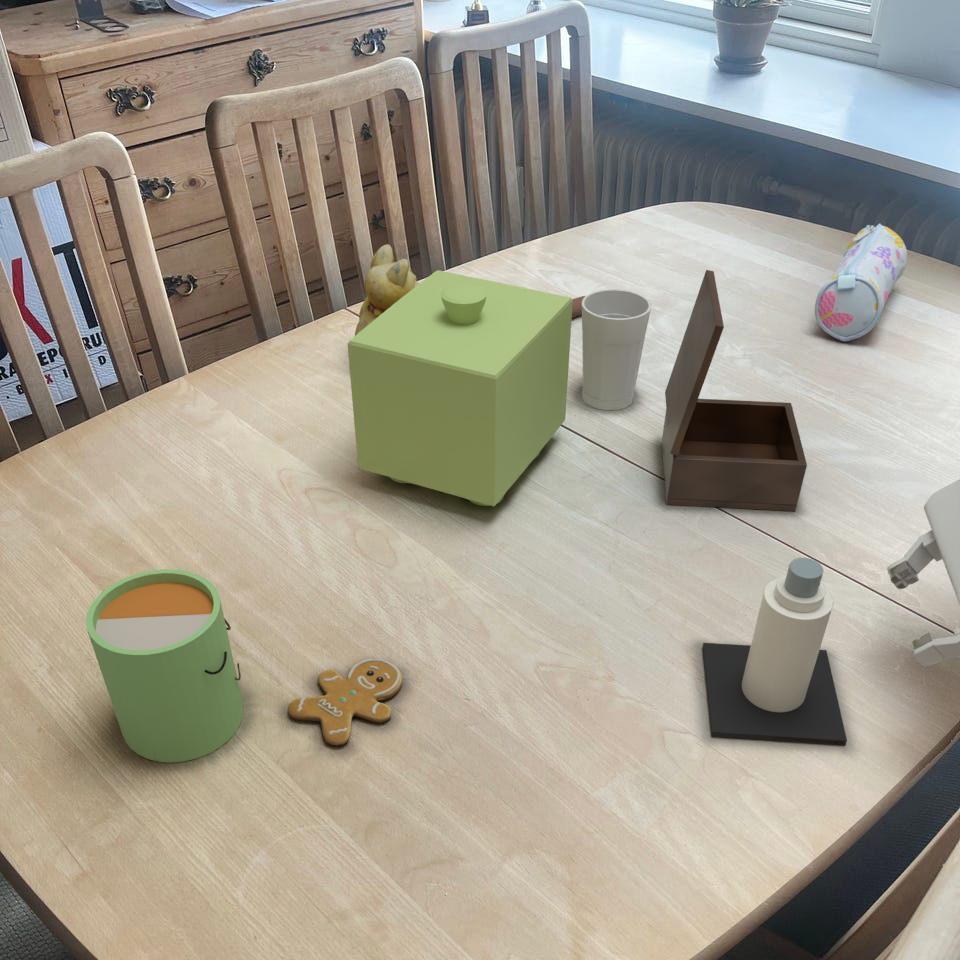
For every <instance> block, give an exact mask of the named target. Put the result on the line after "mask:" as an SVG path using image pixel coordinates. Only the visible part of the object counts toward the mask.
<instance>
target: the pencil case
mask: <svg viewBox="0 0 960 960" xmlns="http://www.w3.org/2000/svg"><path fill="white" fill-rule="evenodd" d="M907 260H908V252H907V246H906V244H905V242H904V240H903V239H902V238H901V237H900V235H899V234H898V233H896V231H894V230H893V229H891V228H890V227H888V226H886V225H883V224H881V223H878V224H877V225H876V226H875V225H870V224H867V225H866V226H865V227H864V228H861V230H859V231H858V232H857V234H856V235H854V237H853V238H851V240H850V242H849V243H848V245H847V246H846V249H845V252H844V253H843V258H842V259H841V260H840V262H839V263H838V265H837V267H836V269H835V271H834V272H833V273H832V274H831V275H830V277H828V279H827V281H826V282H825V283H824V284H823V285H822V286H821V288H820V289H819V291H818V294H817V295H816V298H815V303H814V317H815V319H816V321H817V323H818V326H819V327H820V328H821V329H822V331H824V332H825V333H826V334H828V335H829V336H830V337H833V338H835V339H837V340H838V341H841V342H850V341H853V340H856V339H859V338H861V337H863V336H865V335H867V334H868V333H870V332H871V331H873V329H874V328H875V327H876V326H877V324H878V323H879V321H880V319H881V317H882V314H883V311H884V309H885V307H886V304H887V301H888V299H889V295H890V294H891V293H892V291H893V289H894V287H895V285H896V284H897V282H898V281H899V279H900V278H901V277H902V276H903V274H904V272H905V270H906V267H907V263H908V261H907Z"/></svg>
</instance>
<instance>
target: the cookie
mask: <svg viewBox="0 0 960 960" xmlns="http://www.w3.org/2000/svg"><path fill="white" fill-rule="evenodd" d="M317 682H318V685H319V686H320V688H321V690H322V691H323V693H324V695H317V696H309V697H301V698H296V699H294V700H292V701H291V702H290V703H289V704H288V706H287V713H288V714H289V716H290V717H291V718H293V719H294V720H297V721H298V720H299V721H314V722H319V723H320V726H321V733H322V736H323V739H324V741H325V742H326V743H327V744H329V745H332V746H342V745H345V744H346V743H347V742H348V741H349V739H350V737H351V734H352V732H351V731H352V720H353V717H358V718H361V719H364V720H368V721H371V722H374V723H384V722H386V721H388V720H390V717H391V716H392V708H391V707H390V706H389V705H388V704H386V703H383V702H380V701H385V700H388V699H391V698H392V697H393V696H395V695H396V694H397V693H398V692H399V690H400V689H401V688H402V685H403V674H402V672H401V670H400V669H399V668H398V667H397V665H395V664H393V663H391V662H390V661H388V660H385V659H382V658H368V659H364V660H361V661H359V662H357V663H355V664H354V665H353V666H352V667H351V668H350V669H349V671H348V673H347V676H346V678H343V677H342V675H341V674H340V673H339V672H338V671H336V670H333V669H326V670H323V671H321V672H320V674H319V675H318V677H317Z"/></svg>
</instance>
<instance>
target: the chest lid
mask: <svg viewBox="0 0 960 960" xmlns="http://www.w3.org/2000/svg"><path fill="white" fill-rule="evenodd" d="M724 328H725V325H724V320H723V315H722V309H721V303H720V299H719V293H718V287H717V282H716V277H715V271H714V270H710V269H706V270H705V272H704V275H703V279H702V281H701V285H700V287H699V289H698V293H697V296H696V299H695V301H694V305H693V307H692V312H691V314H690V317H689V320H688V323H687V327H686V329H685V332H684V335H683V337H682V341H681V344H680V346H679V350H678V353H677V355H676V358H675V361H674V364H673V368H672V371H671V374H670V376H669V379H668V383H667V385H666V388H665V392H664V396H665V411H666V410H667V422H668V434H669V445H670V454H674V455H678V452H679V450H680V447H681V444H682V441H683V439H684V436H685V433H686V430H687V428H688V425H689V422H690V419H691V417H692V414H693V411H694V408H695V406H696V403H697V400H698V399H699V397H700V394H701V391H702V388H703V387H704V384H705V381H706V378H707V375H708V372H709V371H710V370H709V369H710V367H711V364H712V362H713V358H714V355H715V353H716V350H717V348H718V345H719V342H720V339H721V337H722V334H723V330H724Z"/></svg>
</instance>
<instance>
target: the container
mask: <svg viewBox="0 0 960 960" xmlns="http://www.w3.org/2000/svg"><path fill="white" fill-rule="evenodd" d="M418 284H419V285H417V286H416V287H415V288H413V289H412V290H411V291H410V292H408V293H407V294H406V295H405V296H403V297H402V298H401V299H400V300H398V301H397V302H396V303H395V304H393V305H392V306H391V307H390V308H388V309H387V310H386V311H385V312H383V313H382V314H381V315H380V316H379V317H377V318H376V319H375V320H374V321H372V322H371V323H370V324H369V325H368V326H366V327H365V328H364V329H363V330H361V331H360V332H359V333H358V334H357V335H356V336H355V335H354V336H353V337H352V338H351V339H350V340H349V342H347V353H348V364H349V377H350V387H351V388H350V389H351V390H350V391H351V401H352V412H353V421H354V422H353V423H354V434H355V446H356V455H357V456H356V457H357V465H358V469H360V470H364V471H367V472H370V473H374V474H378V475H380V476H384V477H387V478H389V479H391V480H392V481H393V482H396V483H398V484H399V483H400V484H413V485H416V486H420V487H423V488H427V489H431V490H434V491H438V492H442V493H445V494H448V495H452V496H456V497H459V498H463V499H466V500H468V501H470V503H472V504H474V505H477V506H481V507H489V506H491V507H495V506H496V505H497V504H500V503H501V502H502V501H503V500H504V498H505V495H506V494H507V492H508V491H509V490H510V488H511V487H512V486H513V485H514V483H516V481H517V480H518V479H519V478H520V477H521V475H522V474H523V473H524V472H525V470H526V469H527V468H528V467H529V466H530V464H531V463H532V462H533V460H534V459H536V458H538V457H539V456H540V453H541V451H542V450H543V448H544V447H545V446H546V445H547V444H548V442H549V441H550V440H551V439H552V437H553V436H554V435H555V433H556V432H557V431H558V430H559V428H560V427H562V425H563V423H564V422H565V421H566V414H567V413H566V412H567V401H568V400H567V398H568V397H567V396H568V385H569V383H568V381H569V369H570V368H569V367H570V353H571V337H572V336H571V335H572V333H571V332H572V321H573V320H572V319H573V317H572V303H573V300H572V299H573V298H572V297H570V296H565V295H560V294H555V293H550V292H545V291H541V290H536V289H532V288H527V287H523V286H517V285H514V284H513V285H512V284H508V283H502V282H498V281H493V280H488V279H484V278H483V279H482V278H478V277H473V276H468V275H463V274H459V273H458V274H457V273H453V272H450V271H449V272H448V271H444V270H439V269H437V270H435V271H434V272H433V273H431V274H430V275H429V276H427V277H426V278H424V279H423V280H422V281H421V282H420V283H418Z"/></svg>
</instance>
